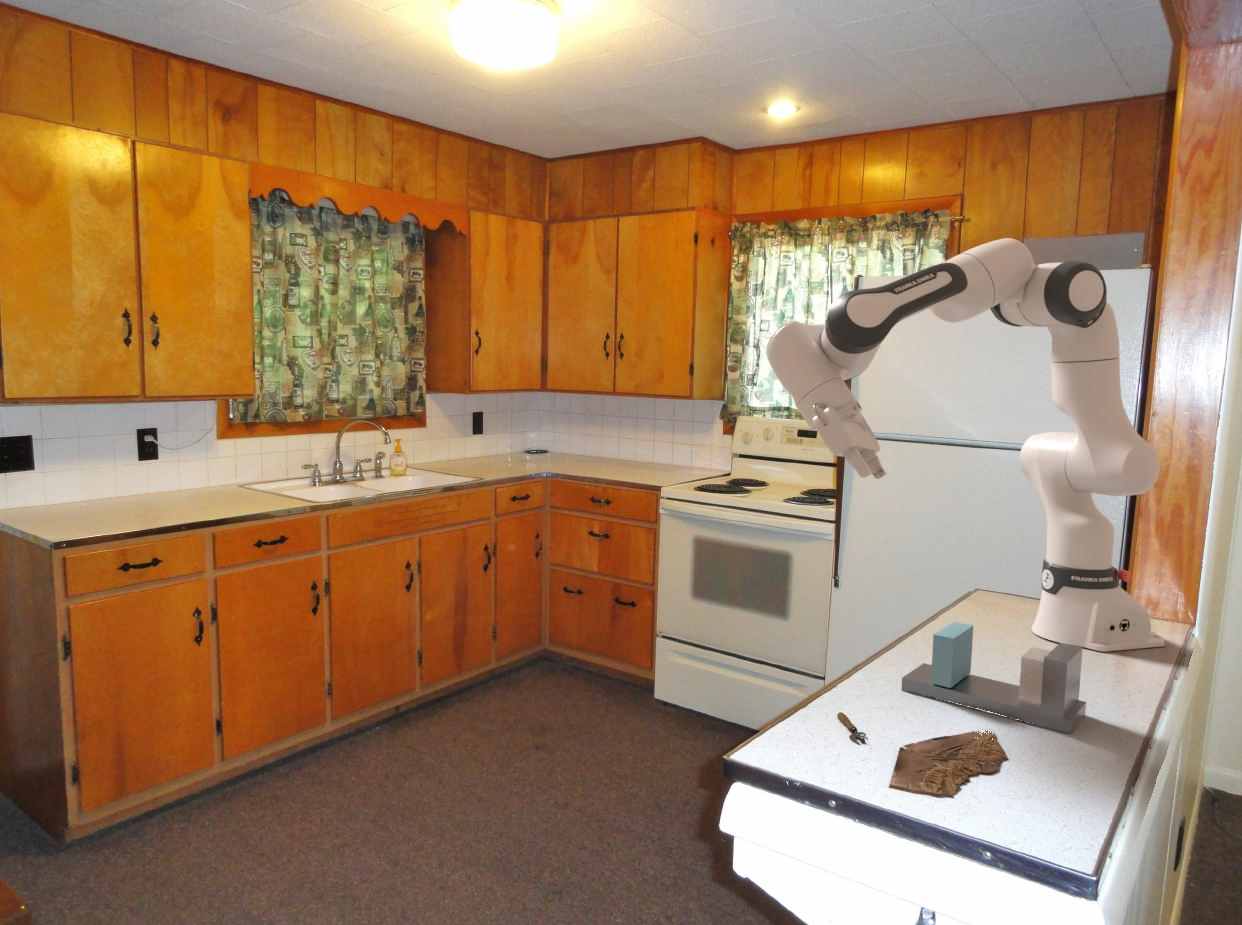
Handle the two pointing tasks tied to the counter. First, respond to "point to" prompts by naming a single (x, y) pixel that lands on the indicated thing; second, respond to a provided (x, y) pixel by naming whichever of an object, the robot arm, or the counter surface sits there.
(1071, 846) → the counter surface
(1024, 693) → the steel block
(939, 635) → the slide jaw
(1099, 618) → the robot arm
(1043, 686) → the vise bed
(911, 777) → the wooden fragment
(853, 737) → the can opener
